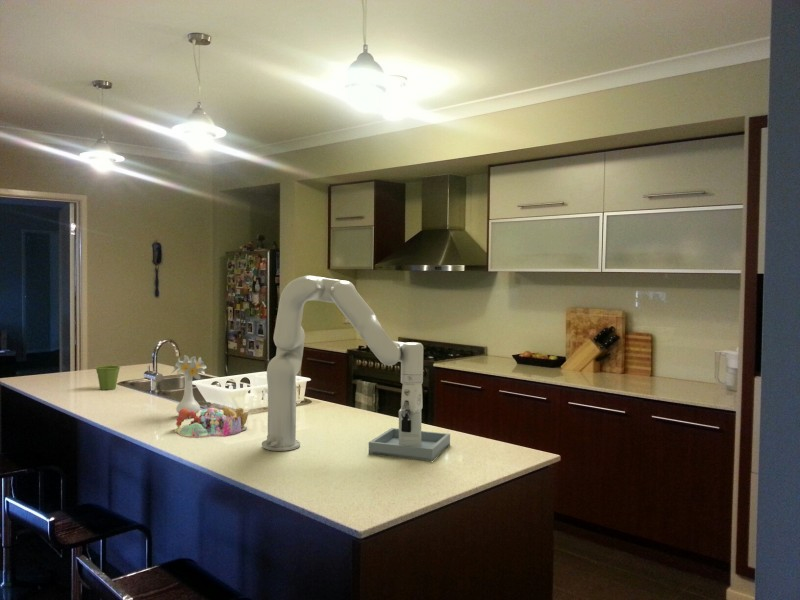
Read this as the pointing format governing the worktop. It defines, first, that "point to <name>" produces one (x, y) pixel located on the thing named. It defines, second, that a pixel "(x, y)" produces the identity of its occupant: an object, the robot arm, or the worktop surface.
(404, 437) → the supplement box
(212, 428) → the candy landscape model
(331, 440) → the worktop surface
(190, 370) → the flower vase
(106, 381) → the plant pot
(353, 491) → the worktop surface
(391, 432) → the tray
